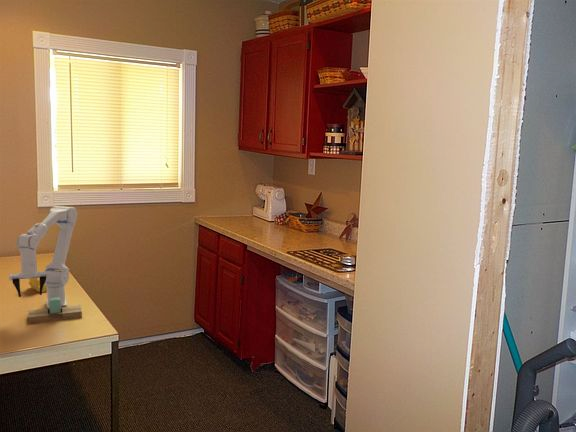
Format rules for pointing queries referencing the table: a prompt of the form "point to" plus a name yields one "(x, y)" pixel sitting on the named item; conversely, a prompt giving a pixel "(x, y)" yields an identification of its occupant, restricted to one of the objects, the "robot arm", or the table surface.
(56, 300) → the teal peg
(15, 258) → the table surface
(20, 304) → the table surface
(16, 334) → the table surface
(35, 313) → the walnut rail
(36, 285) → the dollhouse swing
